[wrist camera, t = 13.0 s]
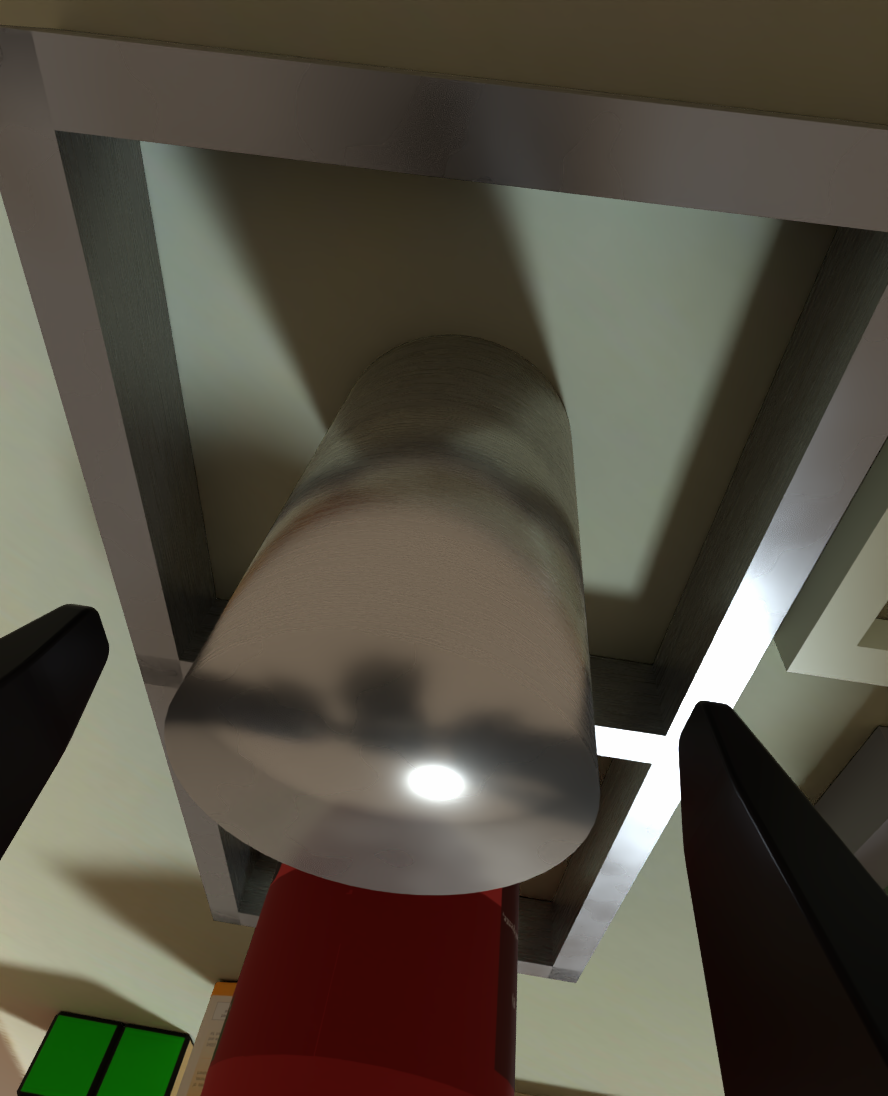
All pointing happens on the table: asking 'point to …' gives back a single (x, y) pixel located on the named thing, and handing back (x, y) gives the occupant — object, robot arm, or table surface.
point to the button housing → (863, 806)
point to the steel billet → (409, 642)
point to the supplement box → (206, 1040)
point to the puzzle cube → (106, 1059)
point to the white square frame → (846, 595)
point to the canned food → (372, 994)
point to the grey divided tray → (473, 155)
